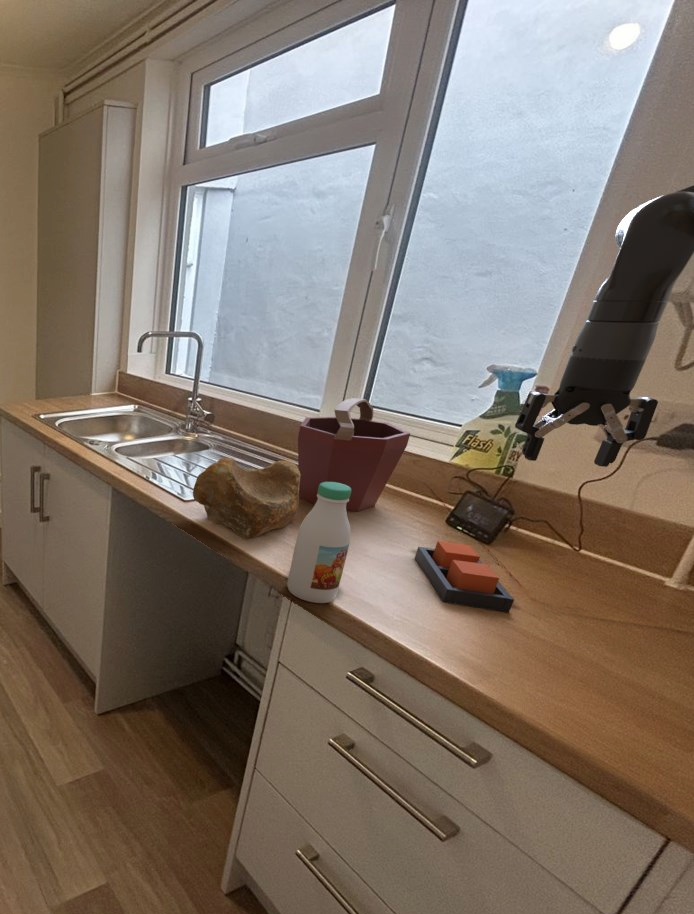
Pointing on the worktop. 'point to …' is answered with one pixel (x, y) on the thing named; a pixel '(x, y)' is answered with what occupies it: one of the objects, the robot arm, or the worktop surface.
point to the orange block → (453, 553)
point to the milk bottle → (321, 546)
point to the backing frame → (460, 596)
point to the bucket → (349, 453)
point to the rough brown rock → (249, 496)
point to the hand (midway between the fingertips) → (564, 462)
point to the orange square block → (472, 576)
